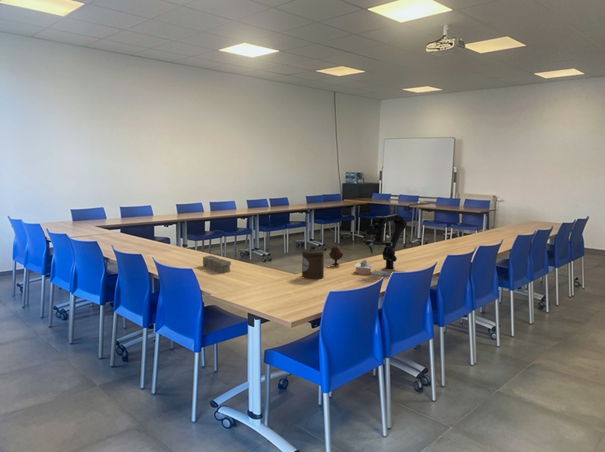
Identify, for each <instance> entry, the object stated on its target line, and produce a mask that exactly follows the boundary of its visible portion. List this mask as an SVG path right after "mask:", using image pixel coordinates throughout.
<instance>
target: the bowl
mask: <svg viewBox="0 0 605 452" xmlns="http://www.w3.org/2000/svg"><path fill="white" fill-rule="evenodd" d="M371 269H372V267H371V268H370V269H366V268H356V267H355V272H356V274H359V275H370V274H371Z"/></svg>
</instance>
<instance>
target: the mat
mask: <svg viewBox="0 0 605 452" xmlns="http://www.w3.org/2000/svg"><path fill="white" fill-rule="evenodd" d="M391 273H392V271H386V270H385V271H382V270H374V271H372V272H370V273H369V275H371V276H380V277H387V278H389V276H390V274H391ZM390 277H391V276H390Z"/></svg>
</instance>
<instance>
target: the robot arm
mask: <svg viewBox="0 0 605 452" xmlns="http://www.w3.org/2000/svg"><path fill="white" fill-rule="evenodd" d="M392 221H393V224H394V226H393V227H394V230H393V232H392V233H393V234H392V236H391V239H390V241H386V242H384V228H386V226H385V224H387V223H388V222H392ZM407 225H408V223H407V221H406V220H405V219H404V218H403V217H402V216H401V215H400V214H398V213H397V214H396V213H393V214H390V215H384V216H378V215H376V216H375V217H374V218H373V220H372V222H371V224H370V225H368V227H367V228H366V233H367V235H369V236H371V235H374V239H373V240H372V239H367V240H365V243H364V245H366V247H368V248H369V250H370V253H371V255H373V254H374V246H384V247H383V248H384V249H383V251H382V259H383V261H385V267H384V269H386V270H394V269H395V267H394V262H397V256H396V251H395V248H396V246H397V244H398V241H399V238H400V236H401V233H402V232H403V231H404V230H405V229H406V227H407Z"/></svg>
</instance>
